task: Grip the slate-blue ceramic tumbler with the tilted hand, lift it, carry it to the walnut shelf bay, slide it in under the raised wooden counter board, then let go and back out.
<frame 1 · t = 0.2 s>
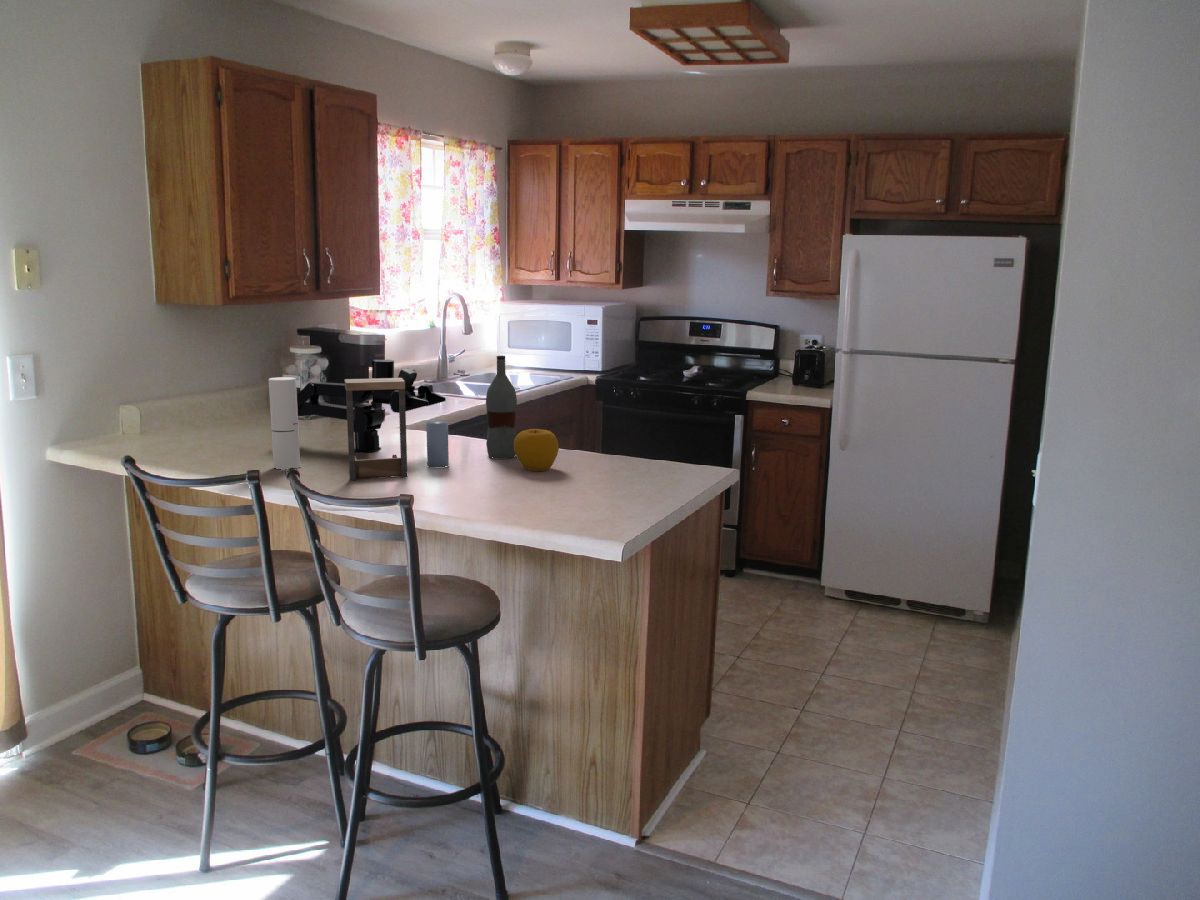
hand: (437, 401, 283), 17 cm above the countertop, tool horizontal, fingers open, 9 cm apart
apple: (535, 470, 271), on the countertop
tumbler: (438, 465, 274), on the countertop
shelf bay: (376, 473, 264), on the countertop
bottle: (501, 457, 289), on the countertop
cylindrical container: (287, 468, 270), on the countertop
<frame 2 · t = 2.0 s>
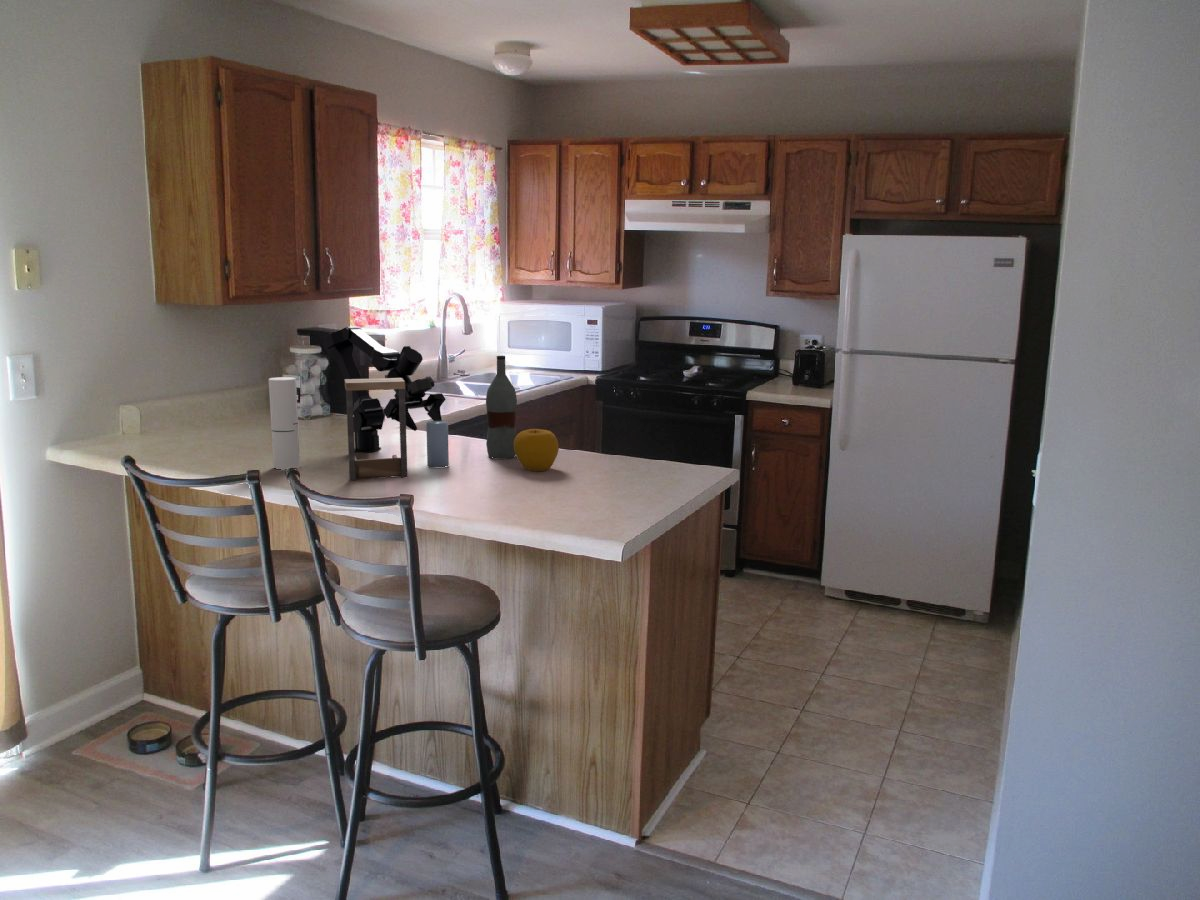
hand: (428, 427, 275), 11 cm above the countertop, tool tilted 45°, fingers open, 9 cm apart
nothing on the countertop moved.
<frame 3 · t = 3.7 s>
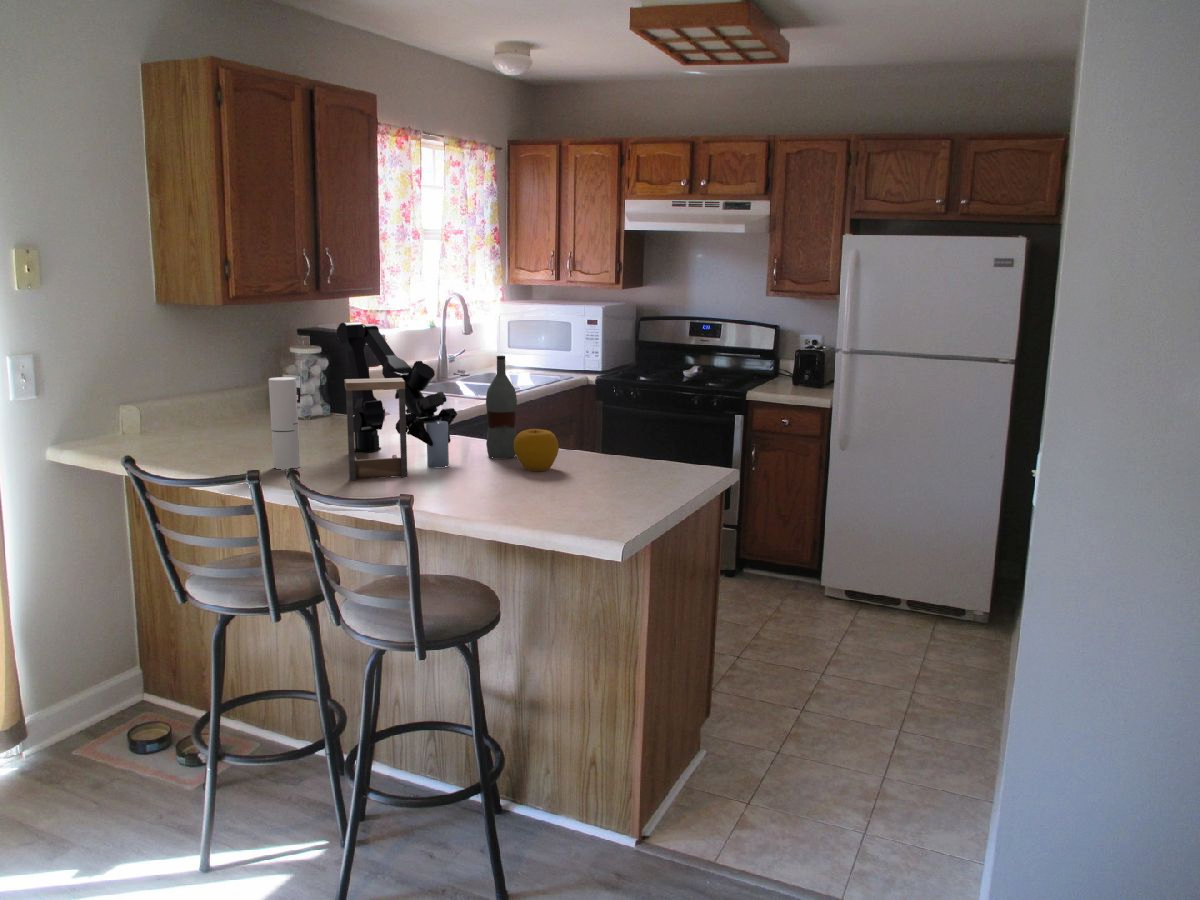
hand: (440, 443, 272), 7 cm above the countertop, tool tilted 45°, fingers closed on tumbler, 6 cm apart
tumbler: (438, 465, 274), on the countertop, touching gripper
everything else where it was.
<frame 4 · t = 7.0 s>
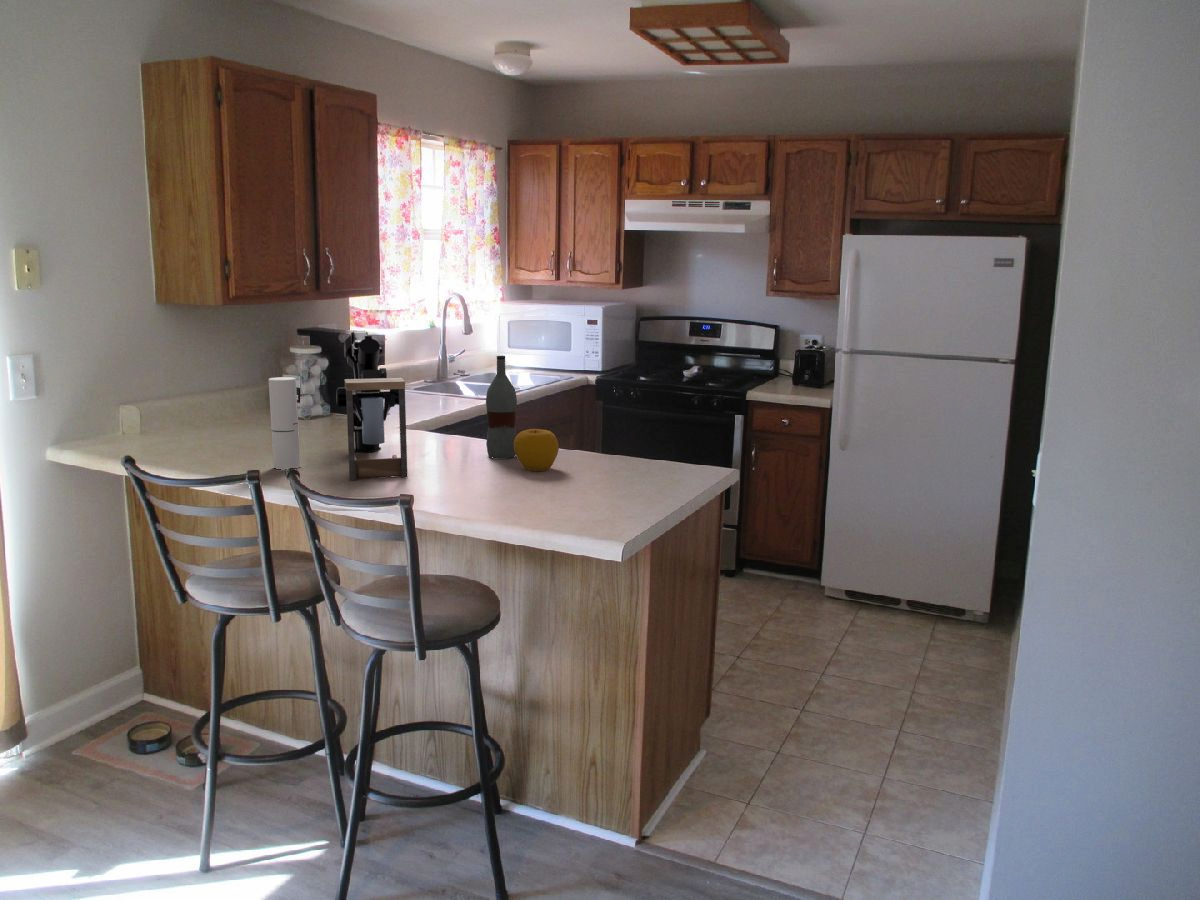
hand: (373, 420, 269), 13 cm above the countertop, tool tilted 45°, fingers closed on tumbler, 6 cm apart
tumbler: (373, 442, 272), point 7 cm above the countertop, touching gripper
everything else where it was.
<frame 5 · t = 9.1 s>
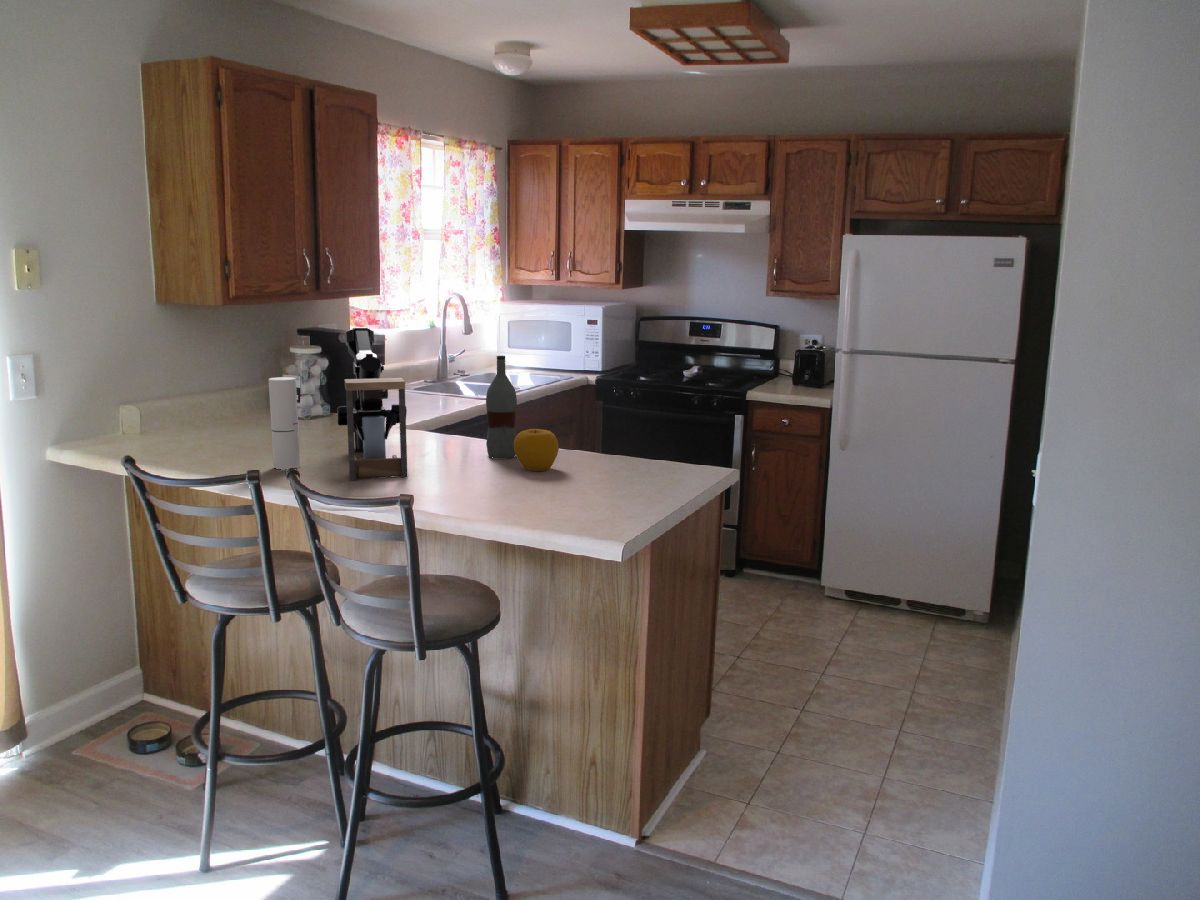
hand: (374, 439, 266), 9 cm above the countertop, tool tilted 45°, fingers closed on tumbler, 6 cm apart
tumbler: (374, 461, 268), point 2 cm above the countertop, touching gripper
everything else where it was.
when the fingers open (9 cm above the countertop, at t = 10.7 s): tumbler drops 1 cm, resting on shelf bay.
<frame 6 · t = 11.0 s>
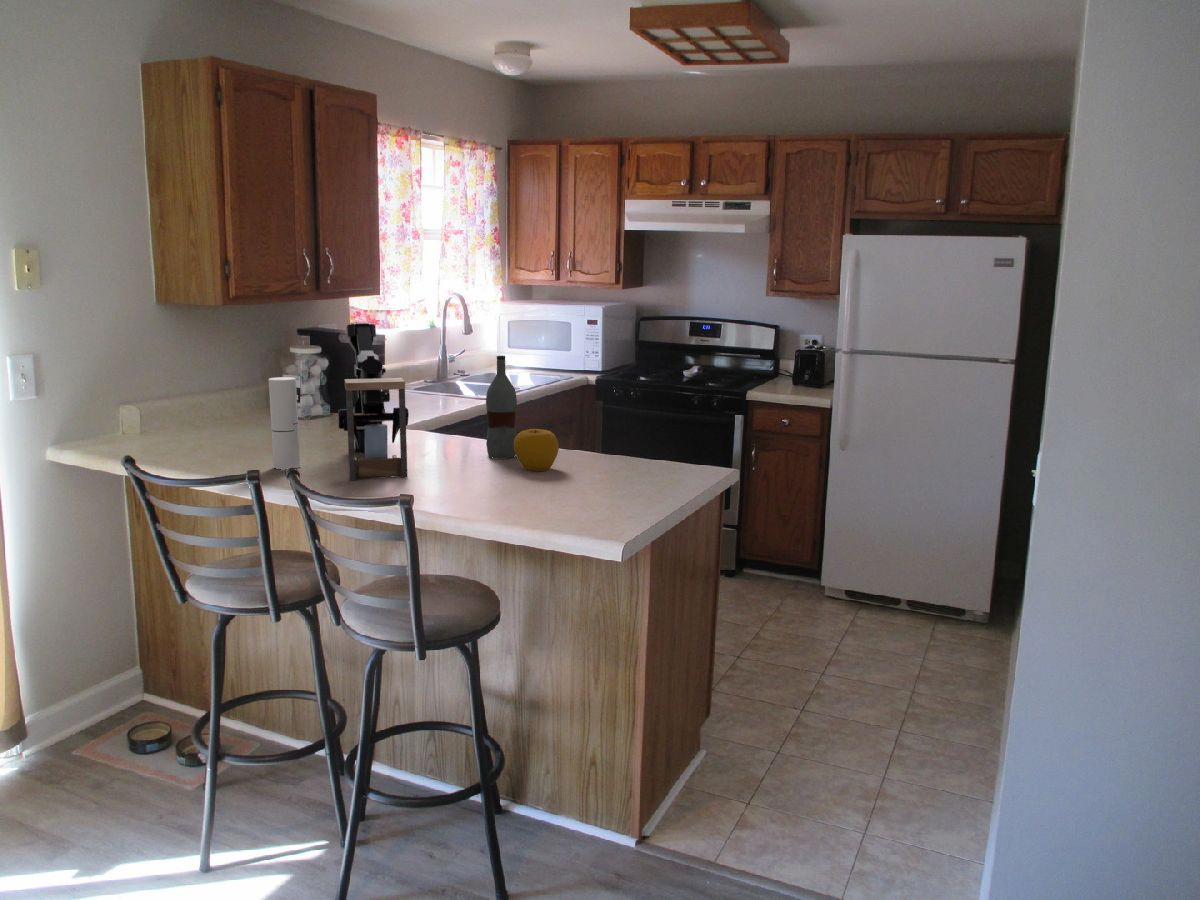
hand: (375, 443, 261), 9 cm above the countertop, tool tilted 45°, fingers open, 9 cm apart
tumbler: (376, 470, 264), point 1 cm above the countertop, touching shelf bay
everything else where it was.
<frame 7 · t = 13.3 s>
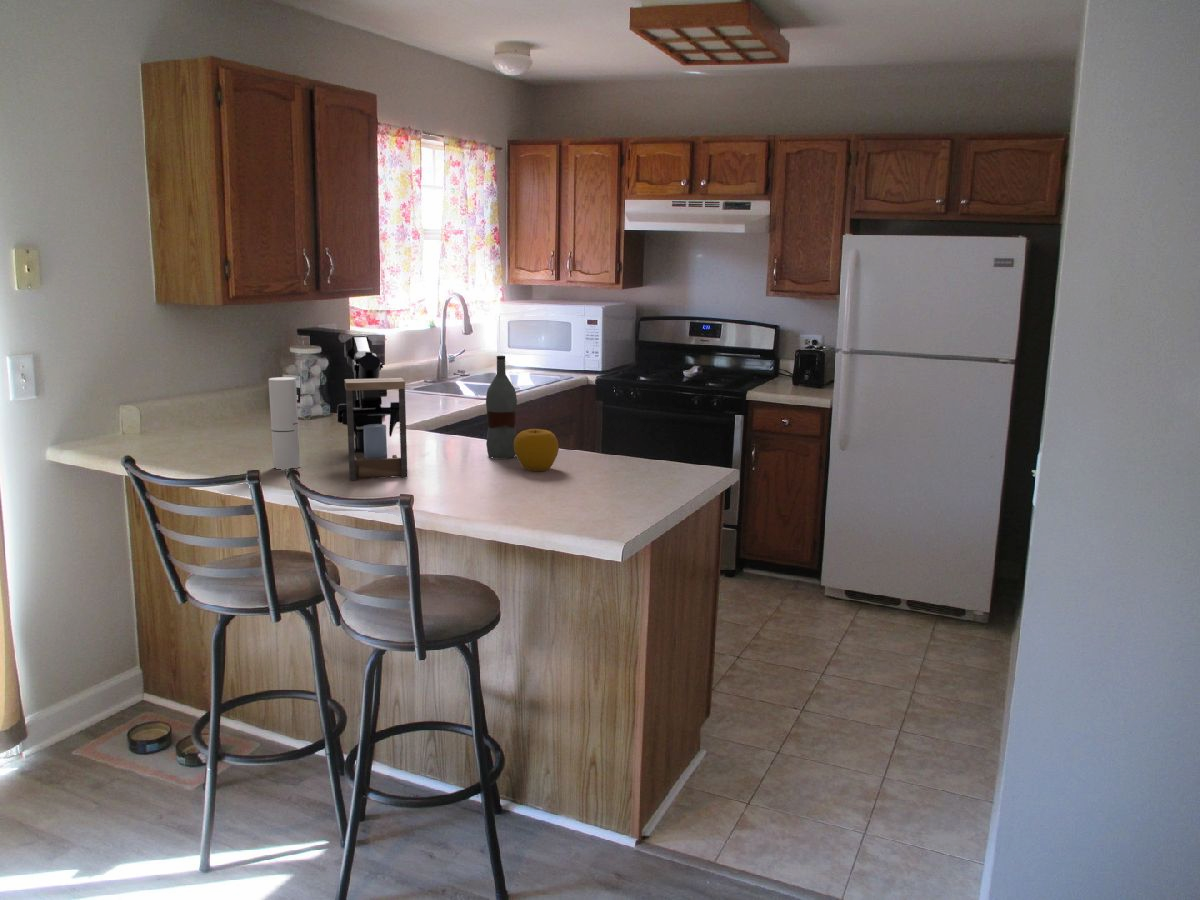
hand: (373, 436, 270), 9 cm above the countertop, tool tilted 45°, fingers open, 9 cm apart
nothing on the countertop moved.
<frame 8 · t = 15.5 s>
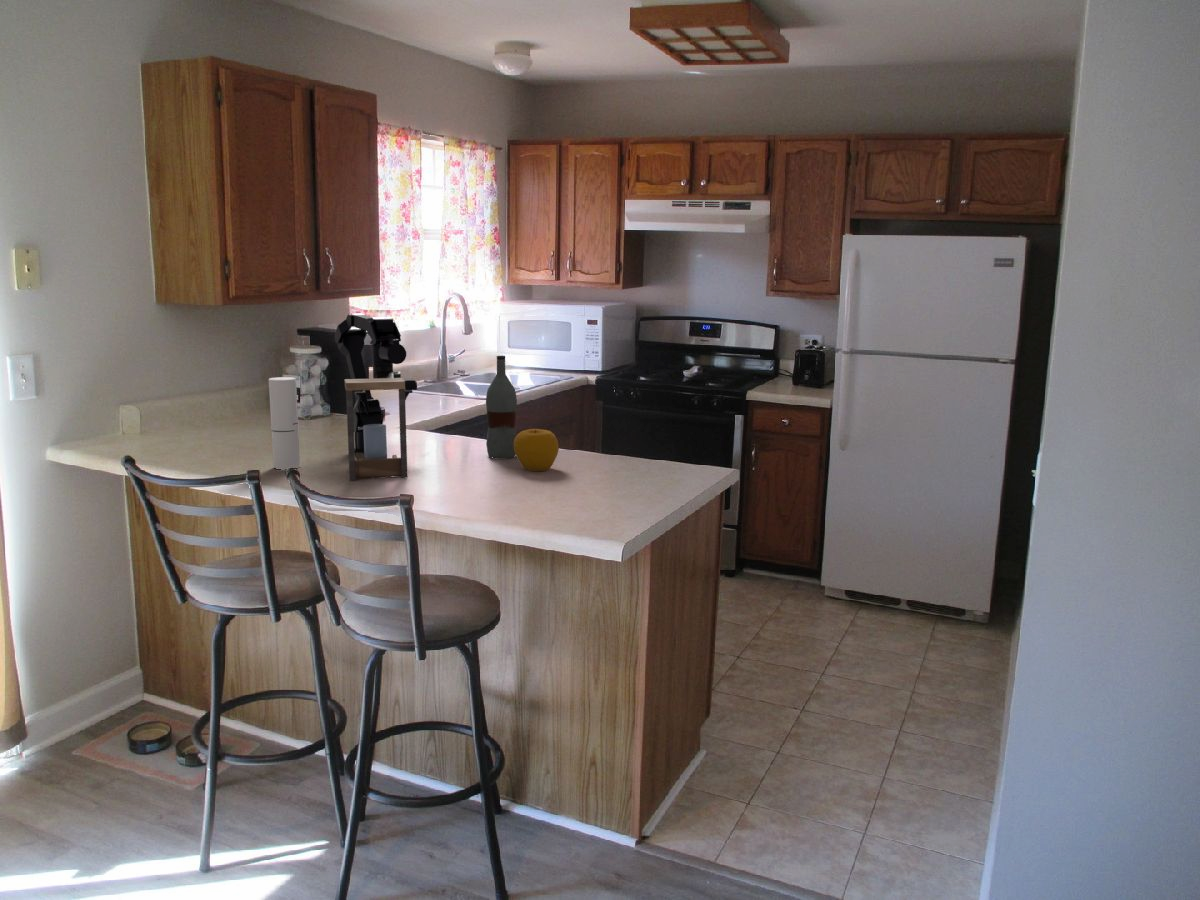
hand: (384, 414, 282), 13 cm above the countertop, tool pointing down, fingers open, 9 cm apart
nothing on the countertop moved.
at the end: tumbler 0.1 cm from the shelf bay (horizontally); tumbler tilted 1°; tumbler point 0.6 cm above the countertop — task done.
